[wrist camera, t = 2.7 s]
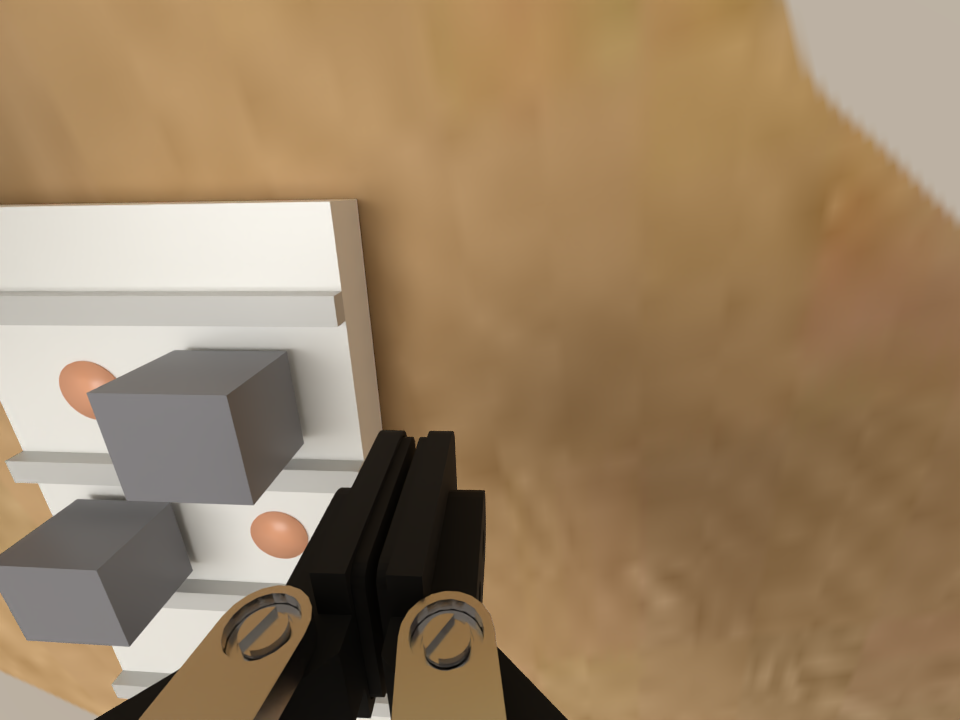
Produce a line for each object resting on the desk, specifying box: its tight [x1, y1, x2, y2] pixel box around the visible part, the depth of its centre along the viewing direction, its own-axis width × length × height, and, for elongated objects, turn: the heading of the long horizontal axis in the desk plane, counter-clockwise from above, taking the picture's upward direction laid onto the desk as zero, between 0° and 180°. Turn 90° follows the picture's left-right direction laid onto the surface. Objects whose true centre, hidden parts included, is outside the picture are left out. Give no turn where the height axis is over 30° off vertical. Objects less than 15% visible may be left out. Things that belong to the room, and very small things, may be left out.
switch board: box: [0, 199, 391, 720], centre depth 20 cm, size 14×26×3 cm, turn 1°
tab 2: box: [87, 350, 304, 505], centre depth 14 cm, size 4×4×3 cm
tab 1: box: [0, 499, 193, 647], centre depth 17 cm, size 4×4×3 cm
